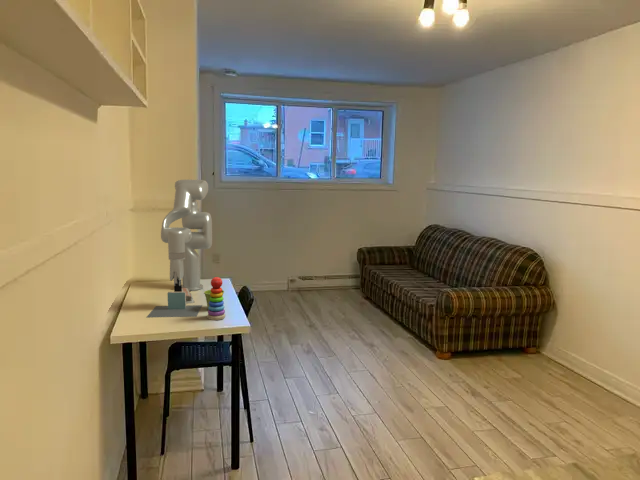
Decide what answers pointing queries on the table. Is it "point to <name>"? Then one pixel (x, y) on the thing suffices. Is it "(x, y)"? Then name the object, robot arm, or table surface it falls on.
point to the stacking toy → (216, 300)
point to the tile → (176, 300)
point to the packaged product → (188, 296)
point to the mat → (175, 311)
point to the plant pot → (207, 294)
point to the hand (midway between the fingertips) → (178, 293)
